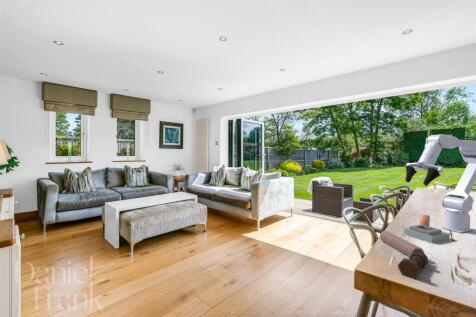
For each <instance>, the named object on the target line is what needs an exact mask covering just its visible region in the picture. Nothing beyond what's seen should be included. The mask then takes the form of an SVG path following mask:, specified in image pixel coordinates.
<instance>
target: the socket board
mask: <svg viewBox="0 0 476 317" xmlns="http://www.w3.org/2000/svg"><path fill="white" fill-rule="evenodd" d="M404 235H406V236H408V237H412V238H415V239H418V240H421V241H423V242H427V243H429V244H434V243H435V244H436V243H438V242H443V241H448V240H450V236H451V234H450V233H449V232H445V231H442V229H440V228H437V227H433V226H430V227H429V226H426V225H422V224H420V223H419V224H415V225H411V226H409V227H407V228H404Z"/></svg>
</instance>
